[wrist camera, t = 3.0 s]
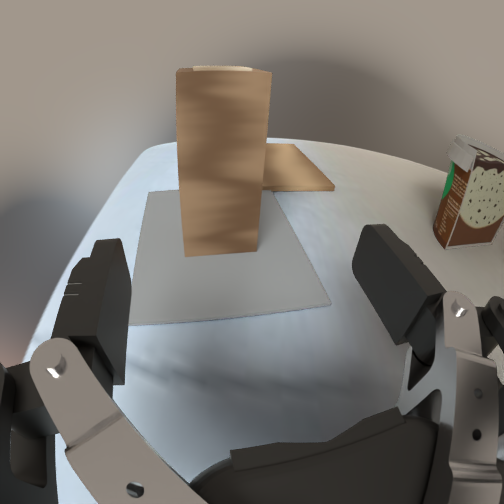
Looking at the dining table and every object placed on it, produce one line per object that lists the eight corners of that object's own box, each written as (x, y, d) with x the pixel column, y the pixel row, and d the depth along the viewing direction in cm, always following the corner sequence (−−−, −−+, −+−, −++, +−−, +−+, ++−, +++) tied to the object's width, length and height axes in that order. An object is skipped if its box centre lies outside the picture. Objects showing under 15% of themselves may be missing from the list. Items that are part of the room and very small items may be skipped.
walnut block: (243, 214, 25) (253, 66, 17) (256, 251, 21) (272, 70, 13) (183, 218, 24) (179, 66, 16) (184, 257, 20) (176, 69, 12)
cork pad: (292, 147, 41) (293, 144, 41) (333, 190, 30) (334, 185, 30) (209, 148, 39) (209, 144, 38) (220, 193, 28) (220, 187, 28)
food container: (467, 214, 30) (491, 144, 24) (497, 243, 25) (528, 168, 19) (400, 214, 28) (426, 123, 22) (434, 250, 23) (473, 149, 17)
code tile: (268, 186, 30) (268, 185, 30) (330, 305, 17) (331, 303, 17) (148, 193, 27) (148, 191, 27) (128, 325, 15) (127, 323, 15)
